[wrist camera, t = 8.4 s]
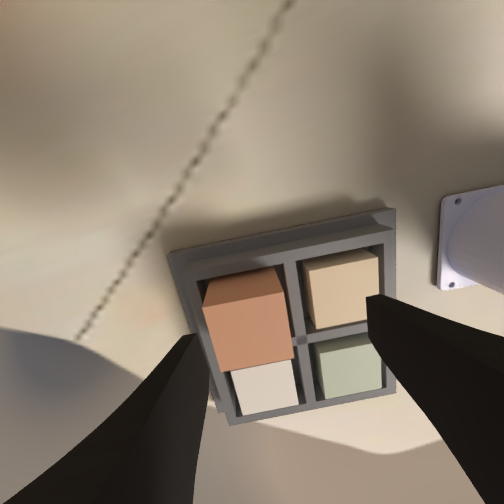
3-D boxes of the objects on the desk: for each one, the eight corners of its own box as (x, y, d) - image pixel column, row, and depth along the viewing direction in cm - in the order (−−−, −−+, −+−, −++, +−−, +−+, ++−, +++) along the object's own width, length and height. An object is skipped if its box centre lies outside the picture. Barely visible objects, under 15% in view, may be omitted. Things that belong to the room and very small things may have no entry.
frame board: (387, 207, 18) (421, 214, 15) (389, 369, 23) (415, 402, 20) (170, 251, 18) (155, 268, 15) (219, 403, 23) (215, 441, 20)
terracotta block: (271, 261, 18) (283, 291, 13) (280, 313, 19) (294, 358, 14) (211, 272, 18) (202, 307, 13) (225, 323, 19) (220, 372, 14)
